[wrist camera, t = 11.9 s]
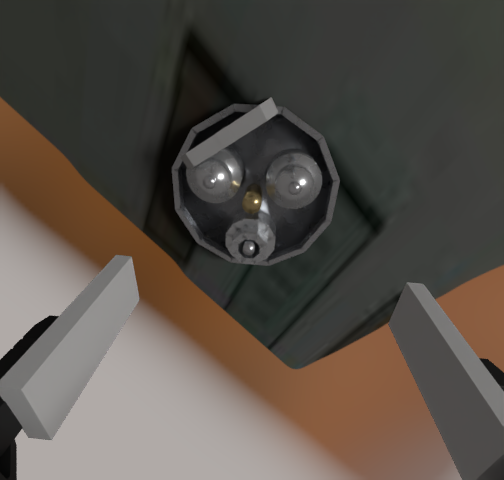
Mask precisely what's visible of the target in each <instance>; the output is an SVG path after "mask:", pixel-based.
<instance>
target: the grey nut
mask: <svg viewBox="0 0 504 480" xmlns="http://www.w3.org/2000/svg"><path fill="white" fill-rule="evenodd" d="M275 238H276V226H275V224H274V222H273V220H272V218H271V216H270V215H269V214H267V213H266V212H264V211H263V210H261V209H260V210H259V211H258V212H257V213H254V214H250V213H247V212H246V211H244V209H243V210H241V211H239V212H237V213H236V214H235V215H234V217H233V218H232V220H231V221H230V223H229V226H228V229H227V232H226V247H227V249H228V250H229V252H230V254H231V255H232V256H233V257H235V258H236V259H237V260H238V261H239V262H240V263H243V264H257V263H258V262H260V261H262V260H265V259H267V258H268V257H269V256H270V254H271V253H272V252H273V251H274V248H275ZM245 239H246V240H254V241H255V249H254V253H253V254H252V255H246V254H244V253H243V246H244V241H245Z"/></svg>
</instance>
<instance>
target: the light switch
mask: <svg viewBox="0 0 504 480" xmlns="http://www.w3.org/2000/svg"><path fill="white" fill-rule="evenodd" d="M276 114H278V110H277V108H276V106H275V104H274V102H273V99H272V98H269V99H268V100H266V101H265V102H263V103H262V104H260V105H258V106H257V107H255V108H254V109H252V110H251V111H249V112H248V113H246V114H245V115H243V116H242V117H240V118H239V119H237V120H236V121H234V122H233V123H231V124H229V125H228V126H226V127H225V128H223V129H222V130H220V131H218V132H217V133H215V134H214V135H213V136H211V137H210V138H208V139H207V140H205V141H204V142H202V143H201V144H199V145H197V146H196V147H194V148H193V149H191V150H190V151H188V152H187V153H185V154H184V155H182V156H181V157H180V158H181V159H182V161H183V162H184V164H185V165H186V167H187V168H188V169H191V168H193V167H195V166H196V165H198V164H200V163H201V162H203V161H204V160H206V159H208V158H209V157H211V156H212V155H214V154H215V153H217V152H219V151H220V150H222V149H224V148H225V147H227V146H229V145H230V144H232V143H233V142H235V141H236V140H238V139H239V138H241V137H242V136H244V135H246V134H247V133H249V132H250V131H252V130H254V129H255V128H257V127H258V126H260V125H262V124H263V123H265V122H266V121H268V120H269V119H271V118H272V117H274V116H275V115H276Z"/></svg>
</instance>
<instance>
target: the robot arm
mask: <svg viewBox="0 0 504 480" xmlns="http://www.w3.org/2000/svg"><path fill="white" fill-rule="evenodd" d="M138 301H139V294H138V288H137V283H136V277H135V272H134V267H133V261H132V257H131V256H121V255H116V256H115V257H114V258H113V259H112V260H111V261H110V262H109V263H108V264H107V265H106V266H105V267H104V269H103V270H102V271H101V272H100V273H99V274H98V275H97V276H96V277H95V278H94V279H93V280H92V282H91V283H90V284H89V285H88V286H87V287H86V288H85V289H84V290H83V291H82V292H81V293H80V294H79V295H78V297H77V298H76V299H75V300H74V301H73V302H72V303H71V304H70V305H69V306H68V308H66V309H65V311H64V312H63V313H62V314H61V315H60V316H48V317H47V318H45V319H44V320H42V321H41V322H39V323H37V324H36V325H34V327H32V328H31V329H30V330H29V331H28V332H27V333H26V334H25V335H24V337H23V339H21V340H19V342H17V343H16V344H15V345H14V347H13V349H10V351H8V353H7V354H6V355H5V356H4V357H3V358H2V359H1V360H0V480H17V478H16V442H15V437H16V436H17V434H18V433H19V432H20V430H21V429H23V430H24V432H25V433H26V434H27V436H28V437H29V438H37V439H45V440H52V439H53V437H54V436H55V434H56V432H57V431H58V429H59V428H60V426H61V424H62V423H63V421H64V420H65V418H66V416H67V415H68V413H69V412H70V410H71V408H72V407H73V405H74V404H75V402H76V400H77V399H78V397H79V396H80V394H81V393H82V391H83V389H84V388H85V386H86V385H87V383H88V381H89V380H90V378H91V377H92V375H93V373H94V372H95V370H96V369H97V367H98V365H99V364H100V362H101V360H102V359H103V357H104V356H105V354H106V353H107V351H108V349H109V348H110V346H111V345H112V343H113V341H114V340H115V338H116V337H117V335H118V333H119V332H120V330H121V329H122V327H123V325H124V324H125V322H126V321H127V319H128V317H129V316H130V314H131V313H132V311H133V309H134V308H135V306H136V305H137V303H138ZM388 325H389V327H390V329H391V331H392V333H393V335H394V337H395V339H396V342H397V344H398V346H399V348H400V350H401V352H402V354H403V356H404V358H405V360H406V362H407V364H408V367H409V369H410V371H411V373H412V375H413V377H414V379H415V381H416V383H417V386H418V387H419V390H420V392H421V394H422V396H423V398H424V400H425V402H426V404H427V407H428V409H429V411H430V413H431V415H432V417H433V419H434V421H435V423H436V425H437V428H438V429H439V432H440V434H441V436H442V438H443V440H444V442H445V444H446V446H447V449H448V451H449V452H450V455H451V457H452V459H453V461H454V463H455V465H456V467H457V469H458V472H459V474H460V476H461V478H462V480H504V373H503V372H502V371H501V370H500V369H499V368H498V367H496V366H495V365H494V364H493V363H492V362H490V361H489V360H488V359H480V358H478V357H477V355H476V354H475V353H474V351H473V350H472V349H471V347H470V346H469V345H468V343H467V342H466V340H465V339H464V338H463V337H462V335H461V334H460V332H459V331H458V330H457V329H456V327H455V326H454V324H453V323H452V322H451V320H450V319H449V318H448V316H447V315H446V314H445V312H444V311H443V310H442V308H441V307H440V306H439V305H438V303H437V302H436V300H435V299H434V298H433V296H432V295H431V294H430V292H429V291H428V290H427V288H426V287H425V286H424V284H419V283H408V282H407V283H406V285H405V287H404V290H403V292H402V294H401V296H400V299H399V301H398V303H397V305H396V308H395V310H394V312H393V315H392V317H391V319H390V321H389V324H388Z"/></svg>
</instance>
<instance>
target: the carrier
mask: <svg viewBox="0 0 504 480" xmlns="http://www.w3.org/2000/svg"><path fill="white" fill-rule="evenodd" d="M257 106H258V105H252V104H232V105H231V106H229V107H227V108H225V109H224V110H222V111H220V112H219V113H217V114H215V115H213V116H212V117H210V118H208V119H207V120H205V121H203V122H201V123H200V124H198V125H196V126H195V127H193V128H191V130H190V132H189V134H188V136H187V138H186V140H185V142H184V144H183V146H182V148H181V150H180V152H179V154H178V156H177V158H176V160H175V163H174V165H173V167H172V179H173V190H174V202H175V211H176V212H177V214H178V215H179V217H180V218H181V220H182V221H183V223H184V224H185V226H186V227H187V229H188V230H189V232H190V233H191V235H192V236H193V238H194V239H195V241H196V242H197V243H198V244H200V245H201V246H203V247H205V248H206V249H208V250H210V251H212V252H213V253H215V254H217V255H219V256H220V257H222V258H224V259H225V260H227V261H229V262H231V263H240V262H239V261H238V260H237V259H236V258H235V257H233V256H232V255H231V254H230V252H229V250H228V249H227V247H226V232H227V229H228V226H229V223H230V221H231V220H232V218H233V217H234V215H235V214H236V213H237V212H239V211H241V210H243V209H244V211H246V212H247V213H250V214H254V213H257V212H258V211H259V210H260V209H261V210H263V211H264V212H266V213H267V214H269V215H270V216H271V218H272V220H273V222H274V224H275V226H276V238H275V248H274V251H273V252H272V253H271V254H270V256H269V257H268V258H267V259H265V260H262V261H260V262H258V263H257V264H255V265H267V266H269V265H272V264H274V263H277V262H280V261H282V260H285V259H287V258H290V257H293V256H295V255H298V254H301V253H303V252H305V251H306V250H307V249H308V248H309V247H310V245H311V244H312V243H313V242H314V241H315V240H316V239H317V238H318V236H319V235H320V234H321V233H322V232H323V231H324V230H325V228H326V227H327V226H328V225H329V224H330V223H331V221H332V216H333V211H334V206H335V202H336V197H337V192H338V187H339V182H340V179H339V176H338V174H337V171H336V168H335V166H334V163H333V160H332V157H331V155H330V152H329V149H328V147H327V144H326V141H325V139H324V136H322V135H321V134H320V133H318V132H317V131H316V130H314V129H313V128H312V127H310V126H309V125H308V124H306V123H305V122H304V121H303V120H301V119H300V118H298V117H297V116H296V115H294V114H293V113H292V112H290V111H289V110H288V109H286V108H285V107H284V106H276V108H277V110H278V114H276V115H275V116H274V117H272V118H271V119H269V120H268V121H266V122H265V123H263V124H262V125H260V126H258V127H257V128H255V129H254V130H252V131H250V132H249V133H247V134H246V135H244V136H242V137H241V138H239V139H238V140H236V141H235V142H233V143H232V144H230V145H229V146H227V147H225V148H224V149H222V150H220V151H219V152H217V153H215V154H214V155H212V156H211V157H209V158H208V159H206V160H204V161H203V162H201V163H200V164H198V165H196V166H195V167H193V168H191V169H188V168H187V167H186V165H185V164H184V162H183V161H182V159H181V158H180V157H181V156H182V155H184V154H185V153H187V152H188V151H190V150H191V149H193V148H194V147H196V146H197V145H199V144H201V143H202V142H204V141H205V140H207V139H208V138H210V137H211V136H213V135H214V134H215V133H217V132H218V131H220V130H222V129H223V128H225V127H226V126H228V125H229V124H231V123H233V122H234V121H236V120H237V119H239V118H240V117H242V116H243V115H245V114H246V113H248V112H249V111H251V110H252V109H254V108H255V107H257ZM254 249H255V241H254V240H246V239H245V241H244V246H243V253H244V254H246V255H252V254H253V253H254Z"/></svg>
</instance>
